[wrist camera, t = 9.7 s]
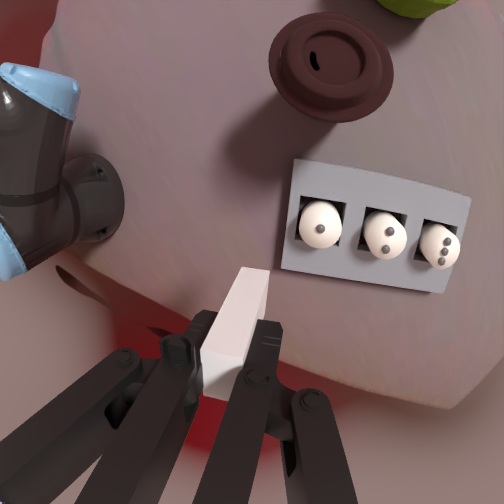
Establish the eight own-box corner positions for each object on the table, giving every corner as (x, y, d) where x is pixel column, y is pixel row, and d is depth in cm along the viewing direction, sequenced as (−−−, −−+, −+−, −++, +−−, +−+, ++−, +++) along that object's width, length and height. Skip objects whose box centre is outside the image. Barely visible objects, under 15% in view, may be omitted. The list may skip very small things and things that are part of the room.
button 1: (298, 233, 36) (296, 245, 31) (303, 196, 34) (302, 204, 29) (335, 238, 35) (337, 252, 31) (341, 202, 33) (345, 211, 29)
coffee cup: (376, 77, 26) (414, 38, 13) (348, 143, 31) (372, 143, 17) (302, 46, 27) (291, -11, 13) (274, 111, 31) (244, 89, 18)
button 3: (412, 252, 33) (423, 267, 29) (421, 218, 31) (434, 229, 27) (440, 258, 32) (453, 272, 28) (450, 225, 30) (465, 236, 26)
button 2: (358, 242, 34) (364, 257, 30) (366, 207, 32) (373, 216, 28) (392, 248, 33) (401, 263, 29) (400, 214, 32) (411, 224, 27)
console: (282, 261, 38) (280, 268, 36) (295, 158, 33) (294, 159, 31) (437, 285, 34) (443, 293, 32) (463, 194, 29) (471, 198, 27)
